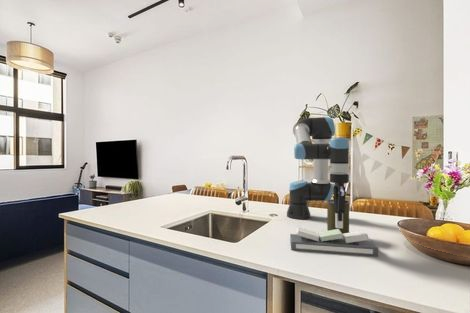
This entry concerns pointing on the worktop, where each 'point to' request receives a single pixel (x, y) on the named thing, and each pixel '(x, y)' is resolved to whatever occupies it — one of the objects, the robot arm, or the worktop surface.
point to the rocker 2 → (355, 236)
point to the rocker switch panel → (333, 246)
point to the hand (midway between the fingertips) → (339, 227)
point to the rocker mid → (330, 235)
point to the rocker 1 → (307, 233)
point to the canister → (332, 217)
